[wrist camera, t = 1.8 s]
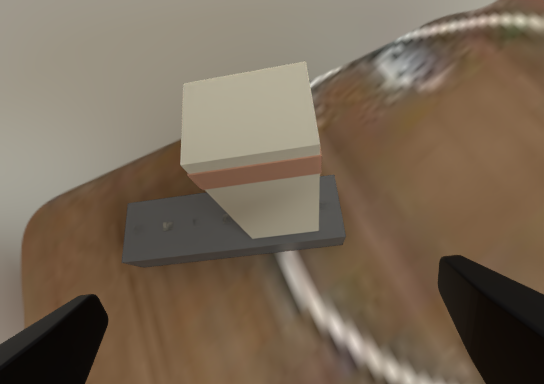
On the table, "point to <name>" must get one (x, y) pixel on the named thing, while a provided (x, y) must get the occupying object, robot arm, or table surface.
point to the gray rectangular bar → (215, 230)
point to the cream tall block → (256, 148)
